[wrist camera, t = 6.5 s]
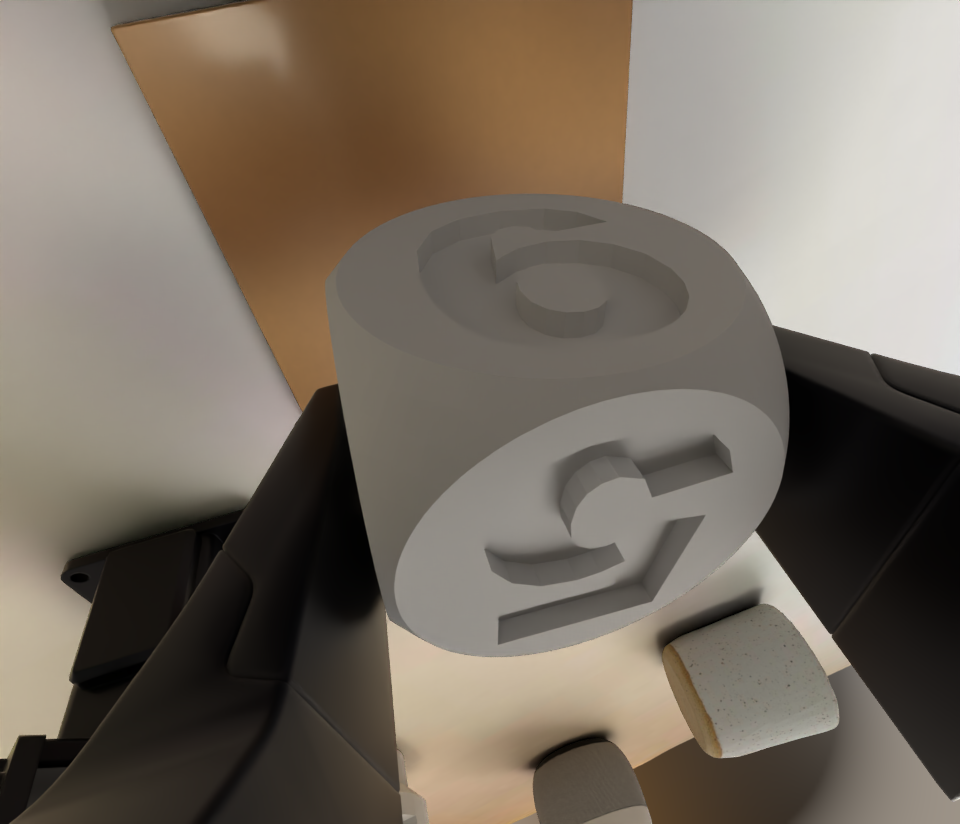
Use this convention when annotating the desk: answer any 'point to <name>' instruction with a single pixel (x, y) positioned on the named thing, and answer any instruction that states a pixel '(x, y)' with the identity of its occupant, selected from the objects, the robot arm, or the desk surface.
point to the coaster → (373, 127)
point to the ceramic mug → (749, 683)
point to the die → (551, 415)
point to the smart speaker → (588, 786)
